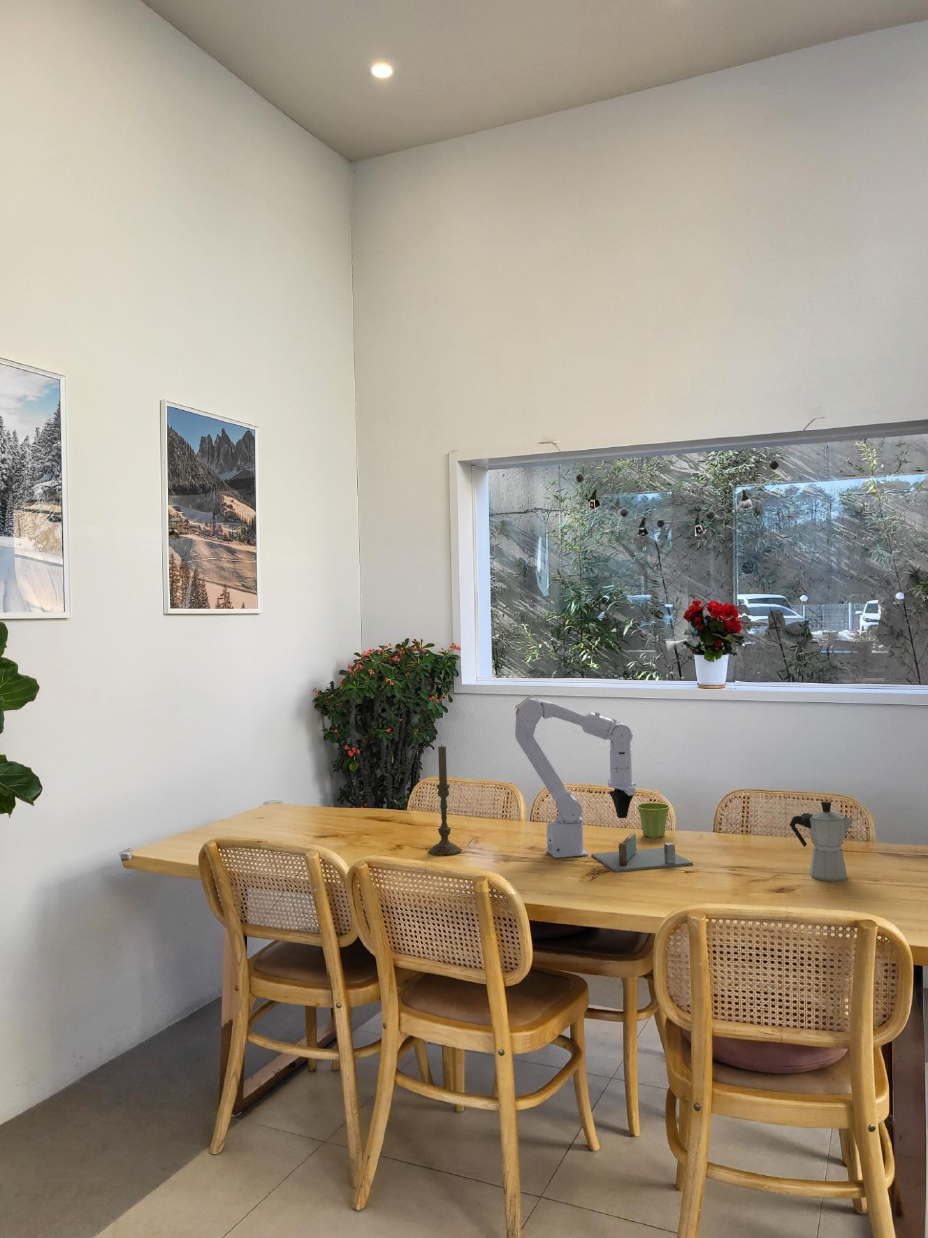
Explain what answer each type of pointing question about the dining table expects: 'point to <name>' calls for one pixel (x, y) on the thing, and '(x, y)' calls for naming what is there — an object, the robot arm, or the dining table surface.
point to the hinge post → (622, 854)
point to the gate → (630, 845)
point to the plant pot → (653, 818)
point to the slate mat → (640, 860)
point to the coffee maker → (825, 842)
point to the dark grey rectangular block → (669, 853)
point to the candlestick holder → (443, 811)
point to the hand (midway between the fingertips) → (622, 817)
